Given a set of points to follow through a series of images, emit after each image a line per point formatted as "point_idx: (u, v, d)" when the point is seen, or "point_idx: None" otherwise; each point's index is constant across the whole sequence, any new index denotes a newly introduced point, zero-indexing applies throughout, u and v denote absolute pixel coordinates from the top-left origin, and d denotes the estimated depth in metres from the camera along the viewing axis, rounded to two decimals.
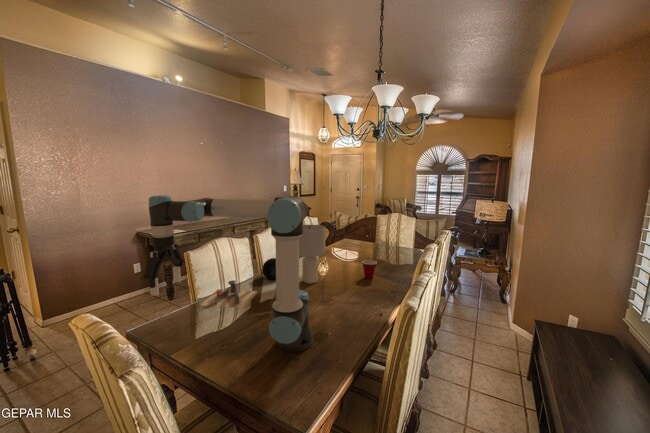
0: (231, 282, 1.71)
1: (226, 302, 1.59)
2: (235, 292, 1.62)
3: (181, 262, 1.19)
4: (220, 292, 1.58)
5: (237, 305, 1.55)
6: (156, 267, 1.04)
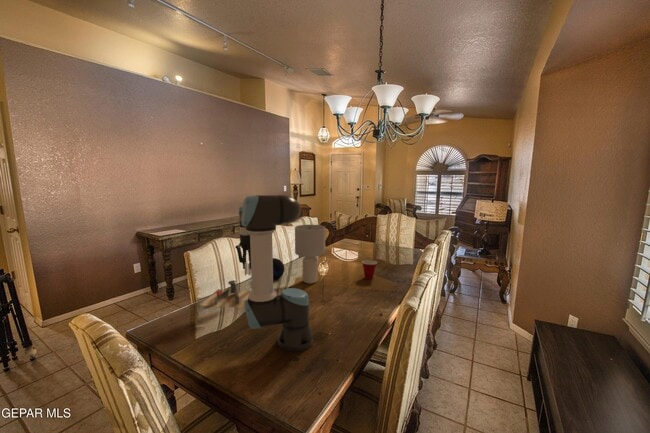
0: (231, 282, 1.71)
1: (226, 302, 1.59)
2: (235, 292, 1.62)
3: None
4: (220, 292, 1.58)
5: (237, 305, 1.55)
6: None
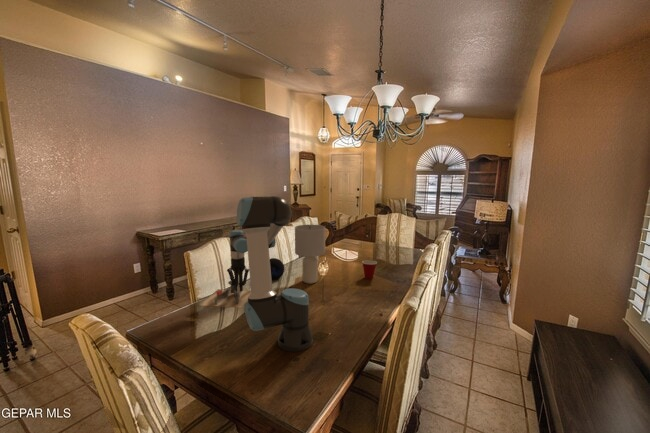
0: None
1: (226, 302, 1.59)
2: (235, 292, 1.62)
3: None
4: (220, 292, 1.58)
5: (237, 305, 1.55)
6: None
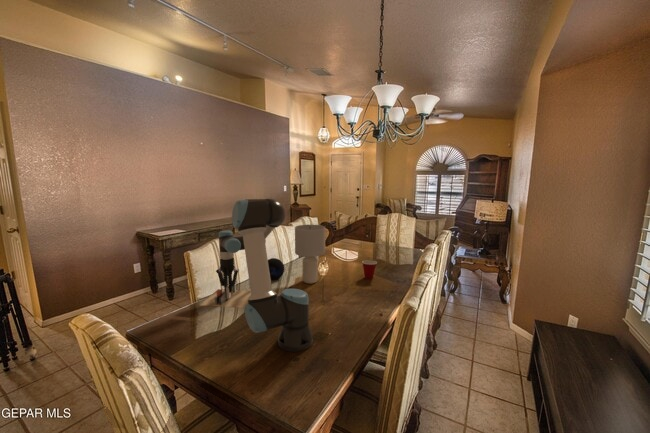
0: None
1: (226, 302, 1.59)
2: (224, 293, 1.61)
3: (231, 284, 1.61)
4: (220, 292, 1.58)
5: (237, 305, 1.55)
6: None
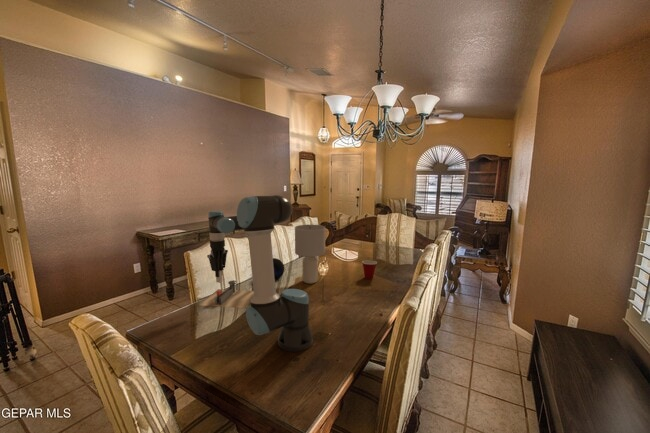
0: (230, 282, 1.71)
1: (226, 302, 1.59)
2: (224, 293, 1.61)
3: (223, 266, 1.54)
4: (220, 292, 1.58)
5: (237, 305, 1.55)
6: (216, 263, 1.50)
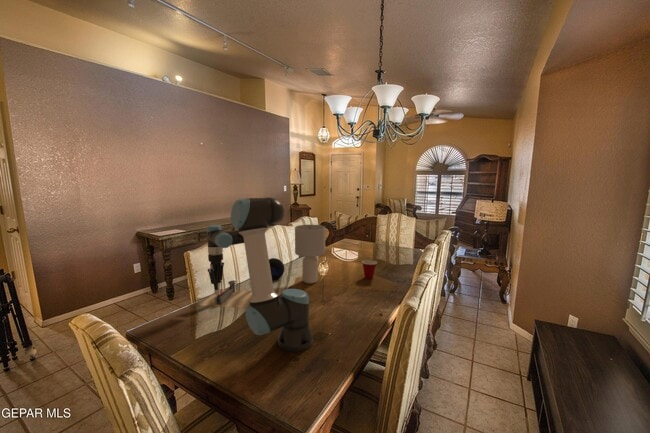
0: (230, 282, 1.71)
1: (226, 302, 1.59)
2: (224, 293, 1.61)
3: (220, 278, 1.58)
4: (220, 292, 1.59)
5: (237, 305, 1.55)
6: (215, 276, 1.53)
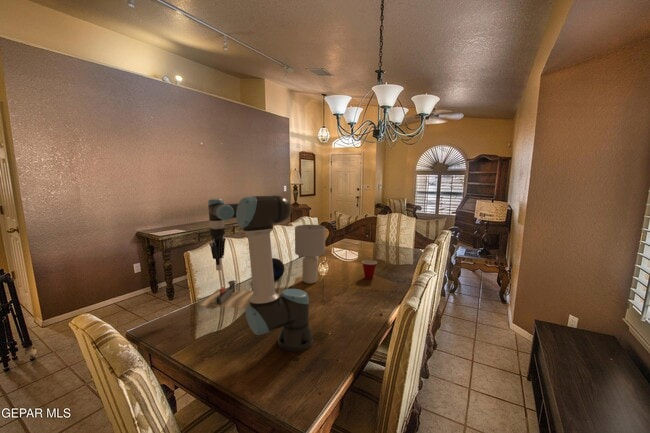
0: (230, 282, 1.71)
1: (226, 302, 1.59)
2: (224, 293, 1.61)
3: (222, 254, 1.56)
4: (223, 290, 1.62)
5: (237, 305, 1.55)
6: (217, 251, 1.51)
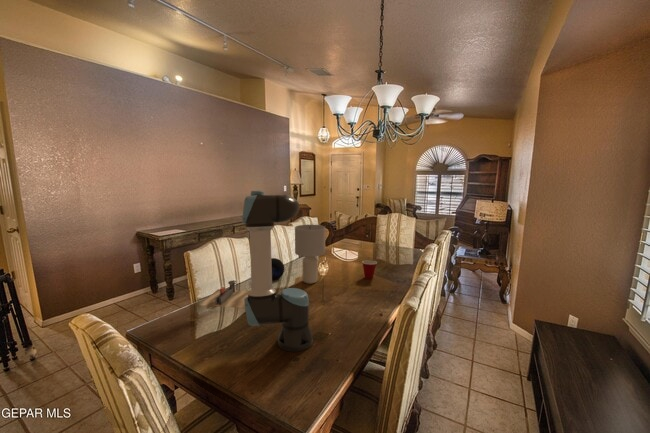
0: (230, 282, 1.71)
1: (226, 302, 1.59)
2: (224, 293, 1.61)
3: None
4: (223, 290, 1.62)
5: (237, 305, 1.55)
6: None
